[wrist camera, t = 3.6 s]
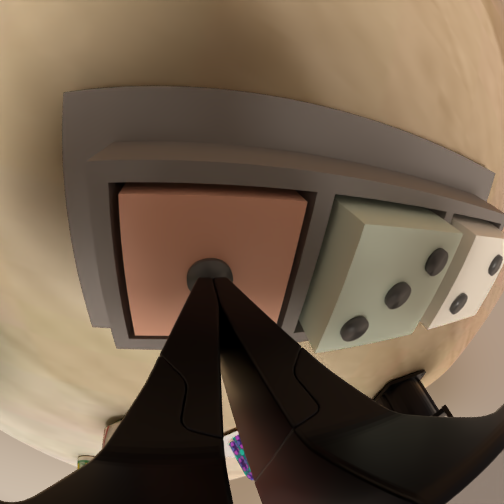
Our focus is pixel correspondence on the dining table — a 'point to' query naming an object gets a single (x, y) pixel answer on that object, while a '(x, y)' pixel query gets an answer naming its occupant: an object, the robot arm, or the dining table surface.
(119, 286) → the tile board
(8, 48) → the dining table surface
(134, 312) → the one dot tile
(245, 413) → the robot arm
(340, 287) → the three dot tile
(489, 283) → the two dot tile
